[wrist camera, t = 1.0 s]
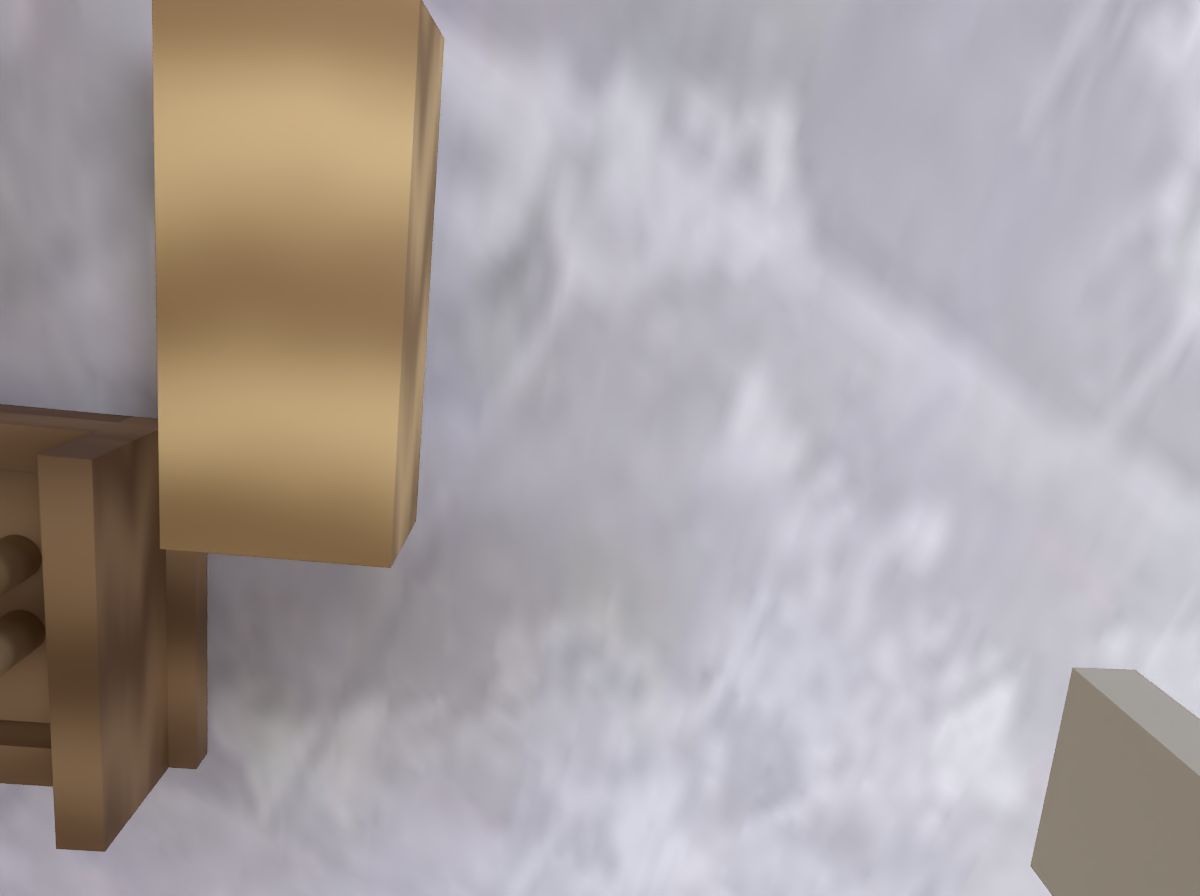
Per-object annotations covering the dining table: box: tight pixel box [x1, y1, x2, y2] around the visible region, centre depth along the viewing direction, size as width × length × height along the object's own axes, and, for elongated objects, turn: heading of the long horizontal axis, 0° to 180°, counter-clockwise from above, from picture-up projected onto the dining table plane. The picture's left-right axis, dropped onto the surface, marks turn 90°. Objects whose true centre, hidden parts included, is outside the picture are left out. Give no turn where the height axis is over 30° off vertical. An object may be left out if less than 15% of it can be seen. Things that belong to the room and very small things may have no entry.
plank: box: [152, 0, 444, 568], centre depth 23 cm, size 14×6×4 cm, turn 174°
